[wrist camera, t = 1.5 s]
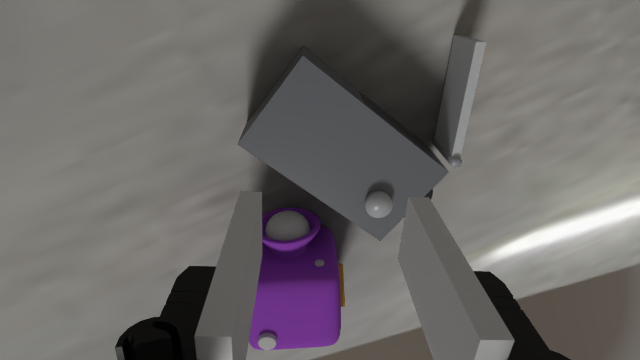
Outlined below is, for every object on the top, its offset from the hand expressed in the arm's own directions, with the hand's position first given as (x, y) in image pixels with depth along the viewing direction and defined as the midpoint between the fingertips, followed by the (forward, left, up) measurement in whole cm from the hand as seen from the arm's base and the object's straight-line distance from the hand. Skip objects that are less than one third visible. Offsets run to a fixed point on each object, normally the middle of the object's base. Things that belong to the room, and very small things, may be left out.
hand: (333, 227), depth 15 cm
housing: (+5, -2, -25) cm, 25 cm away
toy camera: (+9, -16, -25) cm, 31 cm away
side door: (+10, +7, -25) cm, 28 cm away
